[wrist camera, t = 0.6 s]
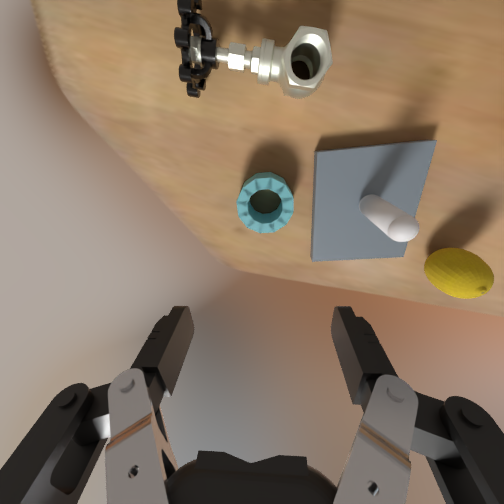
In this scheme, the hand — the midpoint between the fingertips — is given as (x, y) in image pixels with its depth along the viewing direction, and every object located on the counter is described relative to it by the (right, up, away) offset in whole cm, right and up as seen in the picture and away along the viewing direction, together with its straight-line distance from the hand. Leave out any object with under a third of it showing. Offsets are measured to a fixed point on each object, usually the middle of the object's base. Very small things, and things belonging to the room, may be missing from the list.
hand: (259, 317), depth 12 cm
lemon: (+25, +3, +18) cm, 31 cm away
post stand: (+13, +10, +15) cm, 23 cm away
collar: (+1, +10, +16) cm, 19 cm away
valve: (0, +22, +10) cm, 24 cm away
